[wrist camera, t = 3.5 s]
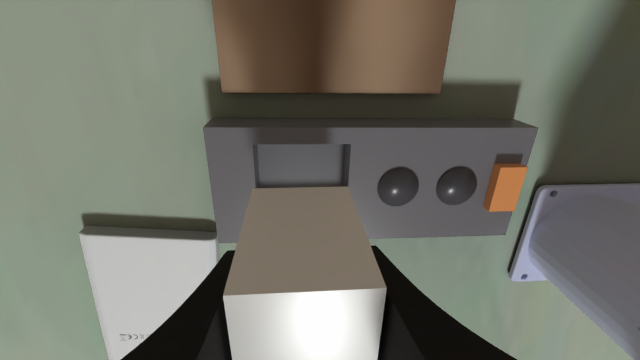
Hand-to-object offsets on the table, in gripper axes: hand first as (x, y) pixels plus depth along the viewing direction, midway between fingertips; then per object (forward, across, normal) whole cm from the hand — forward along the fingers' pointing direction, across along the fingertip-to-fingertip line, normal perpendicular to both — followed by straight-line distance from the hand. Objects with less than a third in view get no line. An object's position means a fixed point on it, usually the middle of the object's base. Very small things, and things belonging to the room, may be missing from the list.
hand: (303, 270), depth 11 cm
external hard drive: (+10, +10, +10) cm, 17 cm away
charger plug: (+3, 0, 0) cm, 3 cm away
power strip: (+9, -4, 0) cm, 10 cm away
